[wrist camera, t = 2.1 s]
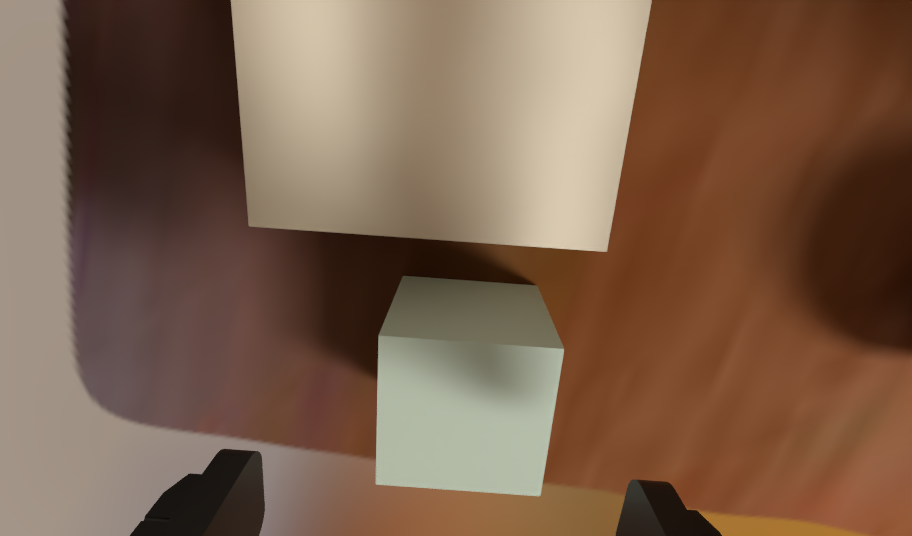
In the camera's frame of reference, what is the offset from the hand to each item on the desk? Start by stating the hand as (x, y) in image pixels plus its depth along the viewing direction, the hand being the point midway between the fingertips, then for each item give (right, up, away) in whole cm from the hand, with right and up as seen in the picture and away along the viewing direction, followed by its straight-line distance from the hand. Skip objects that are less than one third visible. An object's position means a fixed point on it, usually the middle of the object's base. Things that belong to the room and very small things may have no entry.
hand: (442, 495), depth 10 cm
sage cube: (+1, +2, +8) cm, 8 cm away
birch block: (0, +12, +5) cm, 13 cm away
